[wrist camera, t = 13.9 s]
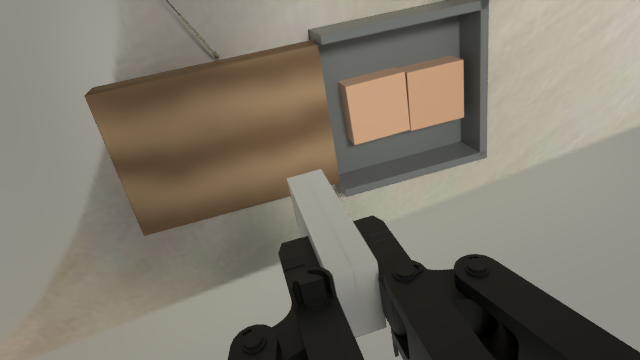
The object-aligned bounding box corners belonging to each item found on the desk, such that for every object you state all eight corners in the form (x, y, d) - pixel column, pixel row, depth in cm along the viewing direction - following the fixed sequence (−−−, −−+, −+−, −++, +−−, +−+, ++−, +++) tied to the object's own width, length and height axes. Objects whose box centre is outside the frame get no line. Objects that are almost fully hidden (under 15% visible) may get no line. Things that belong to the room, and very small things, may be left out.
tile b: (396, 68, 44) (407, 72, 41) (450, 55, 45) (463, 59, 42) (400, 123, 46) (410, 131, 44) (451, 110, 47) (464, 117, 45)
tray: (308, 29, 41) (320, 35, 37) (461, -4, 43) (488, -2, 39) (333, 179, 48) (345, 196, 44) (463, 143, 50) (486, 157, 46)
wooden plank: (92, 87, 38) (84, 96, 35) (310, 40, 41) (317, 44, 38) (147, 220, 44) (143, 235, 42) (332, 170, 47) (340, 182, 45)
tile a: (337, 81, 43) (345, 86, 40) (394, 67, 44) (404, 71, 41) (347, 137, 45) (354, 145, 43) (399, 122, 46) (410, 129, 44)
